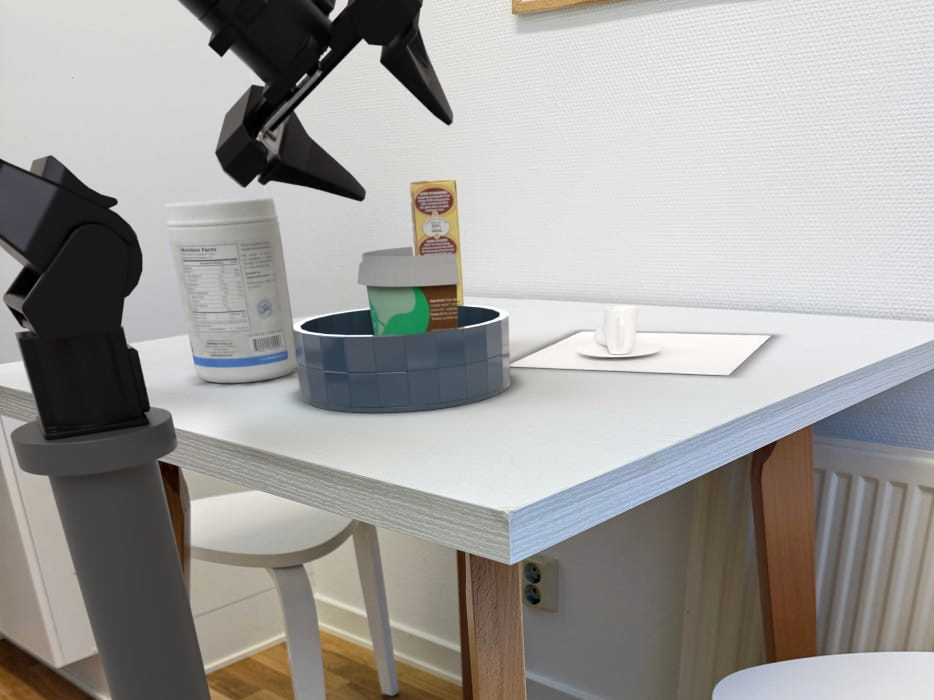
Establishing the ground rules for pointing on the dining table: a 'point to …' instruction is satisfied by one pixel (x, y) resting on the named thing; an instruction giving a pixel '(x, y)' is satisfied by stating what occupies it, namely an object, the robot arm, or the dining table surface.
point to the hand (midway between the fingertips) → (405, 160)
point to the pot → (401, 362)
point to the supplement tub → (233, 288)
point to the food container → (410, 290)
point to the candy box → (436, 222)
